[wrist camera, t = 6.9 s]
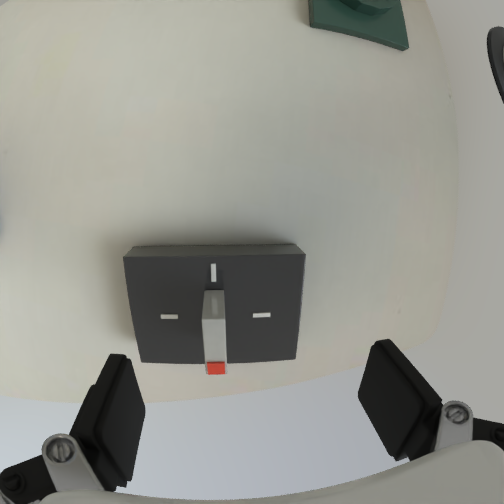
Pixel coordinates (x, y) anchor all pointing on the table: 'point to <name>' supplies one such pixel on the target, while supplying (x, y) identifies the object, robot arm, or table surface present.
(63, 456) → the robot arm
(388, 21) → the control block
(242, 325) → the lever switch base
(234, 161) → the table surface
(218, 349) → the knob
